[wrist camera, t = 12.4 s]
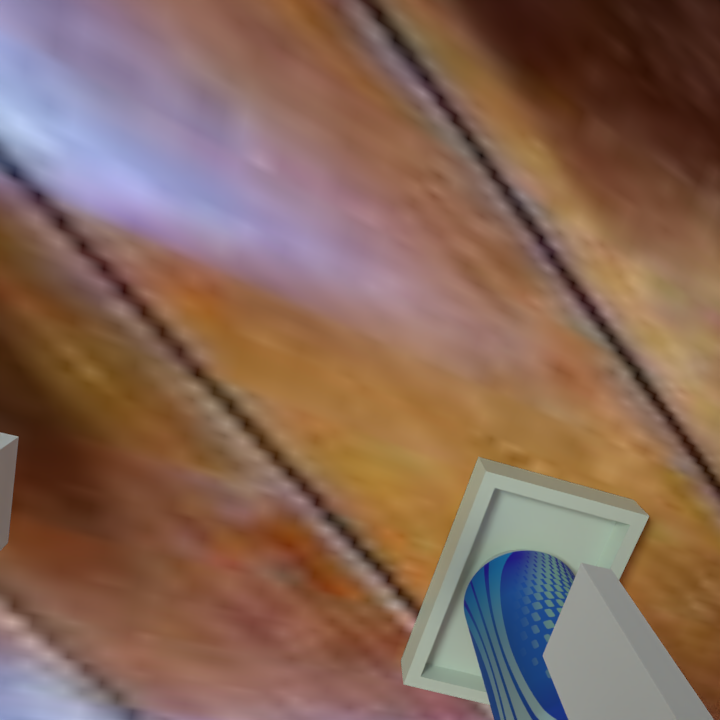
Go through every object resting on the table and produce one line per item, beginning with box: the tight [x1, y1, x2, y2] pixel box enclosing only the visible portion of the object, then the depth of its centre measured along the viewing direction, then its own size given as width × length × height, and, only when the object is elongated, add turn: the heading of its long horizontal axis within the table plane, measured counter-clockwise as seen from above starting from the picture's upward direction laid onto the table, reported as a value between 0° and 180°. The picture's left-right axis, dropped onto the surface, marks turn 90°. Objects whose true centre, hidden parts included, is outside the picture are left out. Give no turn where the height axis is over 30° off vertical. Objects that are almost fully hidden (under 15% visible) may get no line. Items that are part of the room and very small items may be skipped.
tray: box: [401, 457, 649, 705], centre depth 42 cm, size 18×12×2 cm, turn 163°
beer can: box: [464, 549, 575, 720], centre depth 35 cm, size 8×8×16 cm
